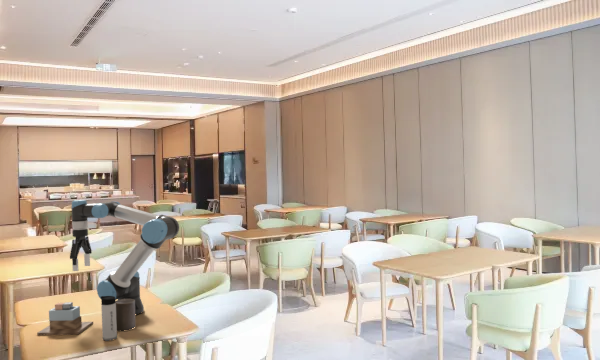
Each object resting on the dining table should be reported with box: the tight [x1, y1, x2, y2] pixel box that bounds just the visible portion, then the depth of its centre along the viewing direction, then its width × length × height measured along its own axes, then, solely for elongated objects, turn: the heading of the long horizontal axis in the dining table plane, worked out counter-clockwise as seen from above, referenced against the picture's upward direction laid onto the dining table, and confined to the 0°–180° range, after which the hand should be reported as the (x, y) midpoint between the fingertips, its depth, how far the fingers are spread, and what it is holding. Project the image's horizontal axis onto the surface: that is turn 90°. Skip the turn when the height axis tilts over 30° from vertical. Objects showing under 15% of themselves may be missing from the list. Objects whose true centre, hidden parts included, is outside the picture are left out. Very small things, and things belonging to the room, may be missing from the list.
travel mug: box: [99, 296, 118, 342], centre depth 229 cm, size 6×7×20 cm
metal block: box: [62, 301, 74, 310], centre depth 245 cm, size 4×4×4 cm
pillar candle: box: [115, 299, 136, 332], centre depth 244 cm, size 10×10×15 cm
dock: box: [36, 315, 94, 336], centre depth 245 cm, size 20×16×6 cm
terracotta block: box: [54, 302, 65, 310], centre depth 244 cm, size 4×4×4 cm
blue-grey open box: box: [48, 305, 81, 322], centre depth 244 cm, size 12×7×5 cm, turn 87°
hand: (81, 268), depth 263 cm, fingers open, 13 cm apart
